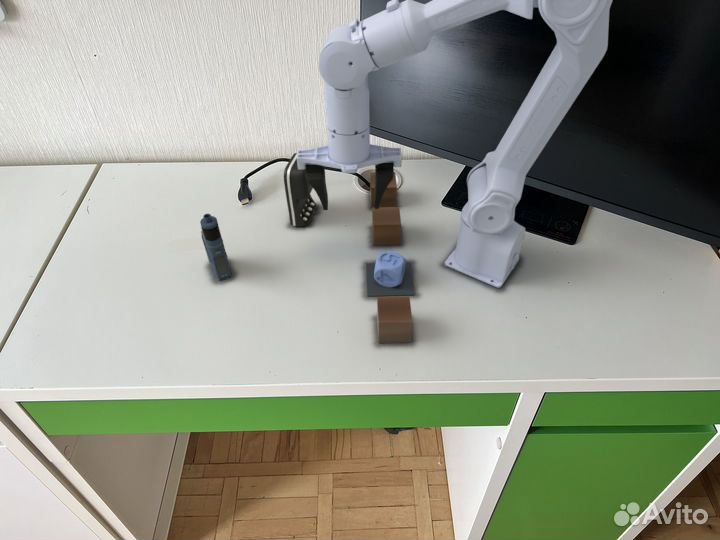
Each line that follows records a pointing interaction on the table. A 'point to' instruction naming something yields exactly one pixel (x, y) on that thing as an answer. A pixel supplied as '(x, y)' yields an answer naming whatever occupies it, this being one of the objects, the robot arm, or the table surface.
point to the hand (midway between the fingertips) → (351, 205)
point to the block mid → (386, 226)
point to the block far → (389, 193)
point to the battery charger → (298, 194)
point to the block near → (394, 319)
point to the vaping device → (215, 247)
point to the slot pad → (380, 290)
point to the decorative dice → (389, 269)
